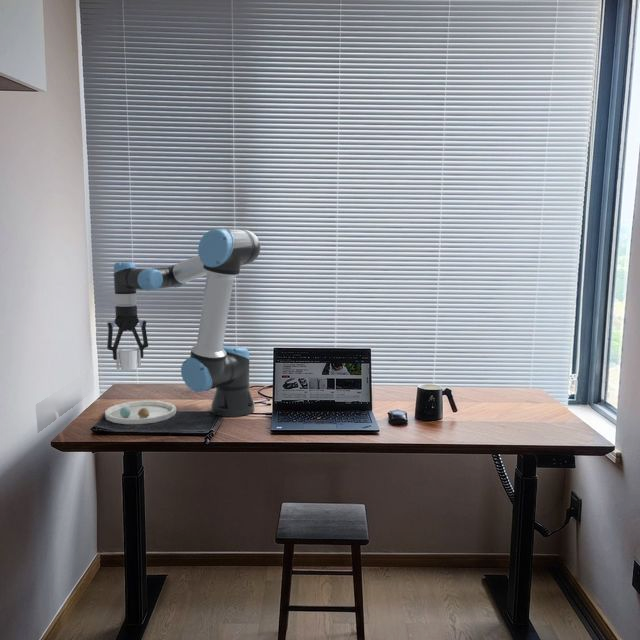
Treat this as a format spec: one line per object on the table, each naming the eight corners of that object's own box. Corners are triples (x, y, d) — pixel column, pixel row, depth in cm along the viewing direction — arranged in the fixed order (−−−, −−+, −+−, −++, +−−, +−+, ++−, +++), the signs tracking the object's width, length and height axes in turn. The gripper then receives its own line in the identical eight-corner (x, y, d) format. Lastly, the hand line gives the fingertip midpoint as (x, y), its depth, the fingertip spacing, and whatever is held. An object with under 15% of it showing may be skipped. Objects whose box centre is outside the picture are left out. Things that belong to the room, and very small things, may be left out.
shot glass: (139, 369, 231) (138, 350, 230) (119, 371, 228) (118, 351, 227) (137, 365, 237) (136, 347, 236) (118, 367, 235) (117, 348, 234)
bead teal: (130, 415, 215) (129, 405, 215) (131, 418, 212) (131, 407, 212) (119, 416, 214) (119, 406, 213) (120, 419, 211) (120, 408, 210)
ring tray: (168, 404, 232) (167, 398, 232) (182, 422, 212) (182, 414, 211) (101, 411, 223) (101, 404, 222) (110, 430, 202) (109, 422, 202)
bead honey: (148, 416, 214) (148, 406, 214) (150, 419, 211) (149, 409, 211) (137, 417, 213) (137, 407, 212) (139, 420, 210) (139, 410, 209)
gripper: (152, 302, 237) (154, 363, 240) (96, 305, 229) (99, 368, 232) (155, 304, 231) (158, 367, 234) (98, 307, 222) (101, 372, 225)
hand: (128, 367), depth 233 cm, fingers closed on shot glass, 7 cm apart
